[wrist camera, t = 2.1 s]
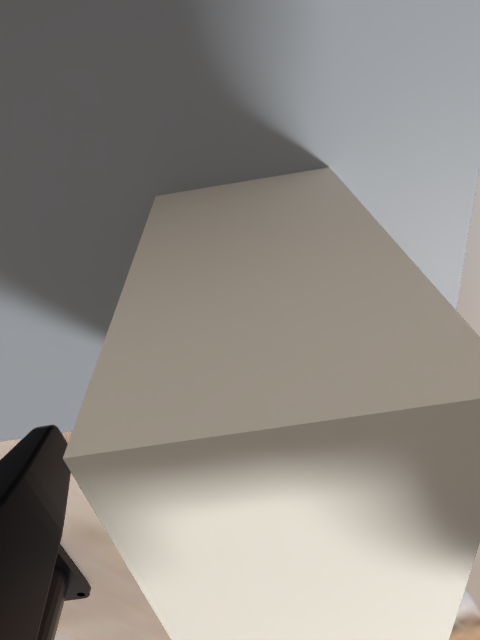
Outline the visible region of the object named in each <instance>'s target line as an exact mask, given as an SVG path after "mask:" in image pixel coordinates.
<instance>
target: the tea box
mask: <svg viewBox="0 0 480 640" xmlns="http://www.w3.org/2000/svg"><path fill="white" fill-rule="evenodd" d="M63 460H64V461H65V463H66V465H67V466H68V468H69V470H70V471H71V473H72V475H73V476H74V478H75V480H76V481H77V483H78V485H79V486H80V488H81V490H82V491H83V493H84V495H85V496H86V498H87V500H88V501H89V503H90V505H91V506H92V508H93V510H94V511H95V513H96V515H97V516H98V518H99V520H100V521H101V523H102V525H103V526H104V528H105V530H106V531H107V533H108V535H109V536H110V538H111V540H112V541H113V543H114V545H115V546H116V548H117V550H118V552H119V553H120V555H121V557H122V558H123V560H124V562H125V563H126V565H127V567H128V568H129V570H130V572H131V573H132V575H133V577H134V578H135V580H136V582H137V583H138V585H139V587H140V588H141V590H142V592H143V593H144V595H145V597H146V598H147V600H148V602H149V603H150V605H151V607H152V608H153V610H154V612H155V613H156V615H157V617H158V618H159V620H160V622H161V623H162V625H163V627H164V628H165V630H166V632H167V633H168V635H169V637H170V638H171V640H449V637H450V634H451V631H452V628H453V625H454V622H455V619H456V615H457V612H458V609H459V606H460V603H461V600H462V597H463V593H464V590H465V587H466V584H467V581H468V578H469V574H470V571H471V568H472V565H473V562H474V559H475V556H476V553H477V550H478V546H479V543H480V337H479V336H478V335H477V334H476V333H475V331H474V330H473V329H472V328H471V327H470V326H469V325H468V323H467V322H466V321H465V320H464V319H463V318H462V317H461V316H460V314H459V313H458V312H457V311H456V310H455V309H454V308H453V306H452V305H451V304H450V303H449V302H448V301H447V300H446V298H445V297H444V296H443V295H442V294H441V293H440V292H439V291H438V289H437V288H436V287H435V286H434V285H433V284H432V283H431V281H430V280H429V279H428V278H427V277H426V276H425V275H424V274H423V272H422V271H421V270H420V269H419V268H418V267H417V266H416V265H415V263H414V262H413V261H412V260H411V259H410V258H409V257H408V255H407V254H406V253H405V252H404V251H403V250H402V249H401V248H400V246H399V245H398V244H397V243H396V242H395V241H394V240H393V238H392V237H391V236H390V235H389V234H388V233H387V232H386V231H385V229H384V228H383V227H382V226H381V225H380V224H379V223H378V222H377V220H376V219H375V218H374V217H373V216H372V215H371V214H370V212H369V211H368V210H367V209H366V208H365V207H364V206H363V205H362V203H361V202H360V201H359V200H358V199H357V198H356V197H355V195H354V194H353V193H352V192H351V191H350V190H349V189H348V188H347V186H346V185H345V184H344V183H343V182H342V181H341V180H340V178H339V177H338V176H337V175H336V174H335V173H334V172H333V171H332V169H331V168H330V167H327V168H321V169H315V170H309V171H303V172H297V173H291V174H285V175H279V176H273V177H267V178H261V179H255V180H249V181H243V182H237V183H231V184H225V185H219V186H213V187H207V188H201V189H195V190H189V191H183V192H177V193H171V194H165V195H159V196H156V197H155V200H154V202H153V205H152V208H151V211H150V214H149V216H148V219H147V222H146V225H145V228H144V231H143V233H142V236H141V239H140V242H139V245H138V247H137V250H136V253H135V256H134V259H133V262H132V264H131V267H130V270H129V273H128V276H127V279H126V281H125V284H124V287H123V290H122V293H121V295H120V298H119V301H118V304H117V307H116V310H115V312H114V315H113V318H112V321H111V324H110V326H109V329H108V332H107V335H106V338H105V341H104V343H103V346H102V349H101V352H100V355H99V357H98V360H97V363H96V366H95V369H94V372H93V374H92V377H91V380H90V383H89V386H88V389H87V391H86V394H85V397H84V400H83V403H82V405H81V408H80V411H79V414H78V417H77V420H76V422H75V425H74V428H73V431H72V434H71V436H70V439H69V442H68V445H67V448H66V451H65V453H64V456H63Z"/></svg>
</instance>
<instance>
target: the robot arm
mask: <svg viewBox="0 0 480 640" xmlns="http://www.w3.org/2000/svg"><path fill="white" fill-rule="evenodd" d="M67 445H68V444H67V442H66V440H65V438H64V437H63V435H62V433H61V431H60V430H59V428H58V427H57V426H55V425H47V426H40V427H36V428H34V429H33V430H31V431H30V432H29V433H28V434H27V435H26V436H25V437H24V438H23V439H22V440H21V441H20V442H19V443H18V444H17V445H16V446H15V447H14V448H13V449H12V450H10V451H9V452H8V453H7V454H6V455H5V456H4V457H3V458H2V459H1V460H0V640H54V638H55V634H56V631H57V627H58V623H59V619H60V615H61V611H62V608H63V604H64V601H67V600H75V599H82V598H87V597H89V595H90V590H91V586H90V585H89V584H88V582H87V581H86V580H85V578H84V577H83V576H82V574H81V573H80V571H79V570H78V569H77V567H76V566H75V565H74V563H73V562H72V561H71V559H70V558H69V557H68V555H67V554H66V552H65V551H64V550H63V548H62V547H61V546H60V541H61V537H62V532H63V526H64V520H65V512H66V505H67V497H68V489H69V482H70V474H71V471H70V470H69V468H68V466H67V465H66V463H65V461H64V460H63V456H64V453H65V451H66V448H67Z"/></svg>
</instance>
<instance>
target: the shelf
mask: <svg viewBox="0 0 480 640" xmlns="http://www.w3.org/2000/svg"><path fill="white" fill-rule="evenodd" d="M327 167H330V168H331V169H332V171H333V172H334V173H335V174H336V175H337V176H338V177H339V178H340V180H341V181H342V182H343V183H344V184H345V185H346V186H347V188H348V189H349V190H350V191H351V192H352V193H353V194H354V195H355V197H356V198H357V199H358V200H359V201H360V202H361V203H362V205H363V206H364V207H365V208H366V209H367V210H368V211H369V212H370V214H371V215H372V216H373V217H374V218H375V219H376V220H377V222H378V223H379V224H380V225H381V226H382V227H383V228H384V229H385V231H386V232H387V233H388V234H389V235H390V236H391V237H392V238H393V240H394V241H395V242H396V243H397V244H398V245H399V246H400V248H401V249H402V250H403V251H404V252H405V253H406V254H407V255H408V257H409V258H410V259H411V260H412V261H413V262H414V263H415V265H416V266H417V267H418V268H419V269H420V270H421V271H422V272H423V274H424V275H425V276H426V277H427V278H428V279H429V280H430V281H431V283H432V284H433V285H434V286H435V287H436V288H437V289H438V291H439V292H440V293H441V294H442V295H443V296H444V297H445V298H446V300H447V301H448V302H449V303H450V304H451V305H452V306H453V308H454V309H455V310H456V309H457V303H458V297H459V291H460V284H461V279H462V273H463V267H464V261H465V255H466V248H467V242H468V236H469V230H470V224H471V218H472V212H473V206H474V200H475V194H476V188H477V181H478V175H479V169H480V0H0V442H1V441H7V440H14V439H21V438H24V437H25V436H26V435H27V434H28V433H29V432H30V431H31V430H33V429H34V428H36V427H40V426H47V425H55V426H57V427H58V428H59V430H60V431H61V433H62V432H69V431H73V428H74V425H75V422H76V420H77V417H78V414H79V411H80V408H81V405H82V403H83V400H84V397H85V394H86V391H87V389H88V386H89V383H90V380H91V377H92V374H93V372H94V369H95V366H96V363H97V360H98V357H99V355H100V352H101V349H102V346H103V343H104V341H105V338H106V335H107V332H108V329H109V326H110V324H111V321H112V318H113V315H114V312H115V310H116V307H117V304H118V301H119V298H120V295H121V293H122V290H123V287H124V284H125V281H126V279H127V276H128V273H129V270H130V267H131V264H132V262H133V259H134V256H135V253H136V250H137V247H138V245H139V242H140V239H141V236H142V233H143V231H144V228H145V225H146V222H147V219H148V216H149V214H150V211H151V208H152V205H153V202H154V200H155V197H156V196H159V195H165V194H171V193H177V192H183V191H189V190H195V189H201V188H207V187H213V186H219V185H225V184H231V183H237V182H243V181H249V180H255V179H261V178H267V177H273V176H279V175H285V174H291V173H297V172H303V171H309V170H315V169H321V168H327Z"/></svg>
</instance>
